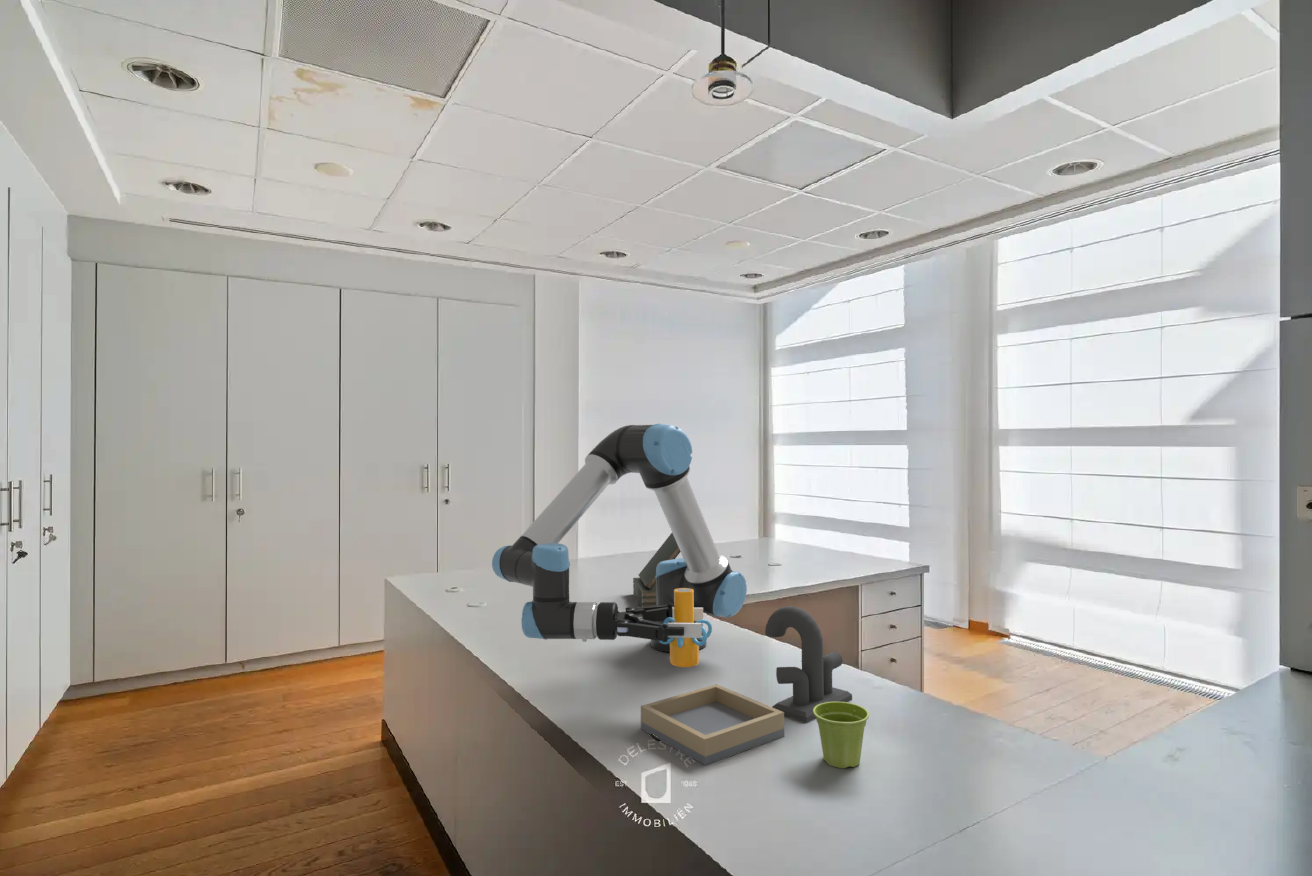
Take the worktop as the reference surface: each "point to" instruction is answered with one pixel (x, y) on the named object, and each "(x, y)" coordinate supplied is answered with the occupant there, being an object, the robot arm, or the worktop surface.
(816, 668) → the faucet
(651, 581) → the grey slanted block structure
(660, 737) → the tan and grey tray
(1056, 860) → the worktop surface
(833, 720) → the plant pot
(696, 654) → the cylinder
